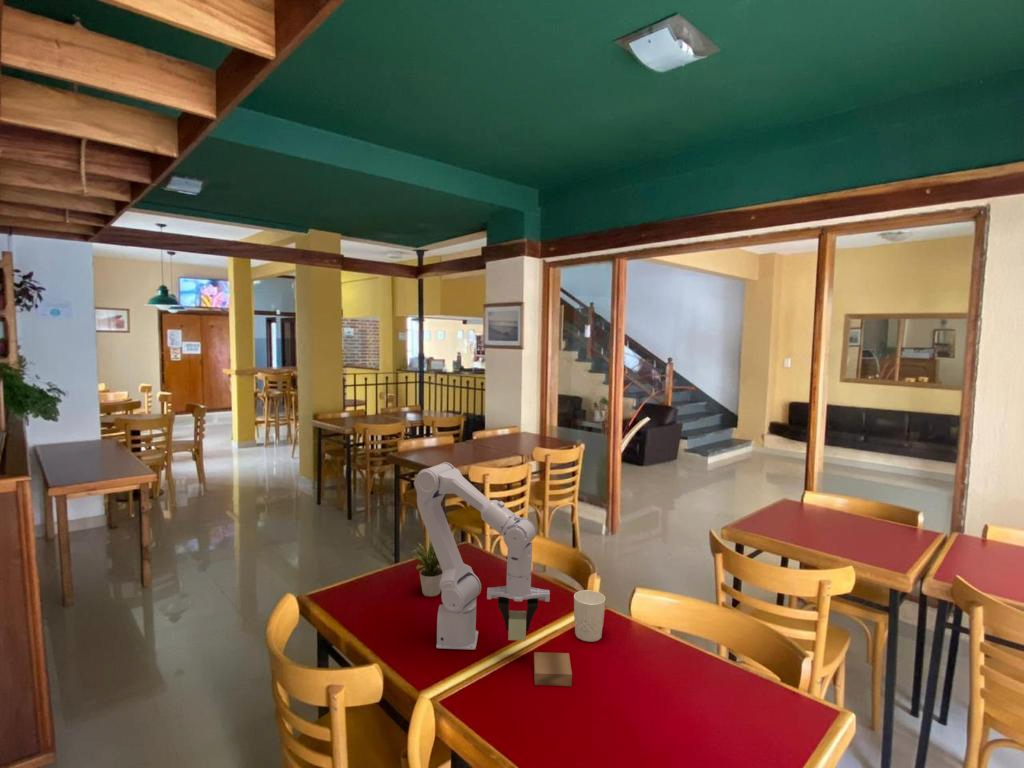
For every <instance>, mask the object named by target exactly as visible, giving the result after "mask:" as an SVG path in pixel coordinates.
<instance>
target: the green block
mask: <svg viewBox="0 0 1024 768" xmlns="http://www.w3.org/2000/svg"><path fill="white" fill-rule="evenodd" d="M526 617H527V610H509V630H508V633H507V634H508V638H507V640H508V641H525V642H526V639H527V638H526V637H527V635H526V633H527V631H526Z"/></svg>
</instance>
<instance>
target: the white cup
mask: <svg viewBox="0 0 1024 768" xmlns="http://www.w3.org/2000/svg"><path fill="white" fill-rule="evenodd" d="M605 608H606V596H605V595H604V594H603V593H601V592H599V591H596V590H591V589H585V590H584V589H583V590H582V589H581V590H579V591H576V592H575V593H574V594H573V611H574V612H573V613H574V615H573V616H574V635H575V636H576V638H577V639H579V640H581V641H583V642H588V643H589V642H597V641H599V640H601V639H602V634H603V626H604V622H605V620H604V618H605Z"/></svg>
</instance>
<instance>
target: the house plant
mask: <svg viewBox="0 0 1024 768" xmlns="http://www.w3.org/2000/svg"><path fill="white" fill-rule="evenodd" d="M417 544H418V545H419V547H416V549H414V550H413V551H412V553H413V552H414V553H417V554H418V555H414V556H413V557H412V558H414V559H415V560H417V561H419V562H421V564H420V563H419V564H417V565H416V570H415V571H418V570H420V571H419V579H420V585H421V592H422V594H423V595H424V596H425V597H437V596H438V595H440V593H441V588H440V585H439V584H440V580H441V577H442V574H443V572H442V569H441V566H440V564H439V561H438V559H437V556H436V553H435V551H434V548H433V545H432V543H431V540H430V539H429V544H428V545H429V546H428V550H427V548H426V547H425V546H423V545H422V544H421V543H419V542H417Z"/></svg>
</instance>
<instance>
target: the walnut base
mask: <svg viewBox="0 0 1024 768" xmlns="http://www.w3.org/2000/svg"><path fill="white" fill-rule="evenodd" d="M570 658H571V657H570V653H569V652H566V653H565V652H541V651H537V652H536V651H534V653H533V672H534V673H533V675H534V679H533V681H534V686H557V687H559V686H560V687H563V686H564V687H572V685H573V680H572V679H573V671H572V666H571V659H570Z"/></svg>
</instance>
